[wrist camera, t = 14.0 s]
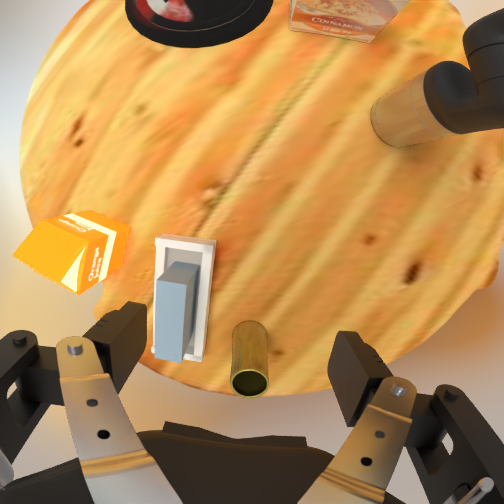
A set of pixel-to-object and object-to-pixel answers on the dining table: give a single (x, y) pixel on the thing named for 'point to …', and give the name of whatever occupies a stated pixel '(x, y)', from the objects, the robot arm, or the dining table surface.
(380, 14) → the coffeecake box
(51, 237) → the orange juice
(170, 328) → the pale blue flat slab
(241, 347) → the vase
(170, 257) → the white rectangular tray
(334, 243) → the dining table surface
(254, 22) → the wall clock
